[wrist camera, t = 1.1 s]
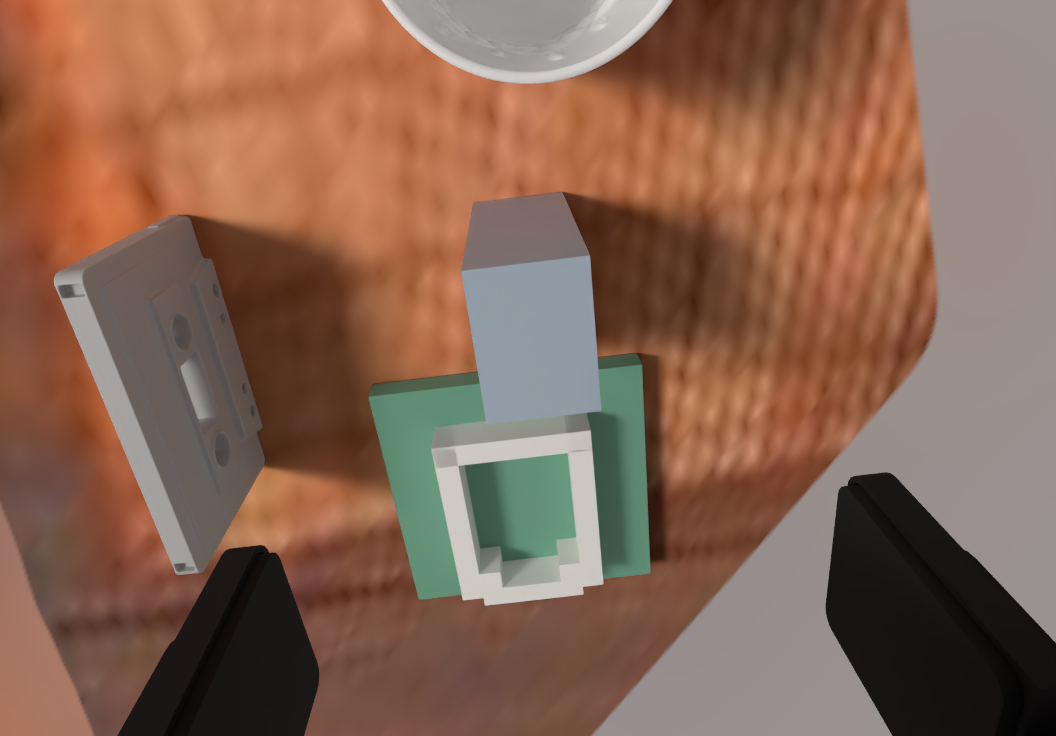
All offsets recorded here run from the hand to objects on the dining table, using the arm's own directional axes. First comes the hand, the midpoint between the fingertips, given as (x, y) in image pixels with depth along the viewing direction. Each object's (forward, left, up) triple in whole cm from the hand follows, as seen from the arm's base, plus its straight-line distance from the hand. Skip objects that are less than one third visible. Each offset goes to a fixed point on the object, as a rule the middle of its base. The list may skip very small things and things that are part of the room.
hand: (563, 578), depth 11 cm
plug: (0, 0, -18) cm, 18 cm away
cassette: (+2, -14, -19) cm, 23 cm away
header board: (+11, -1, -18) cm, 21 cm away
